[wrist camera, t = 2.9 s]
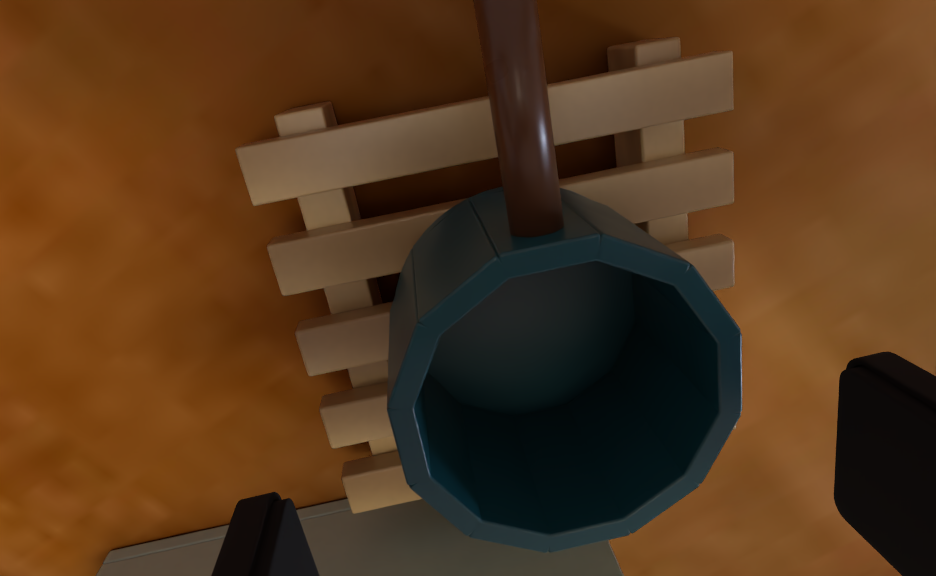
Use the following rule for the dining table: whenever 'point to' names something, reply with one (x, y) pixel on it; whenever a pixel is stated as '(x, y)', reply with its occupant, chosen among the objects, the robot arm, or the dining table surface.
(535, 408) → the pan
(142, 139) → the dining table surface
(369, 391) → the rack
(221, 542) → the pale green open box
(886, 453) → the robot arm
